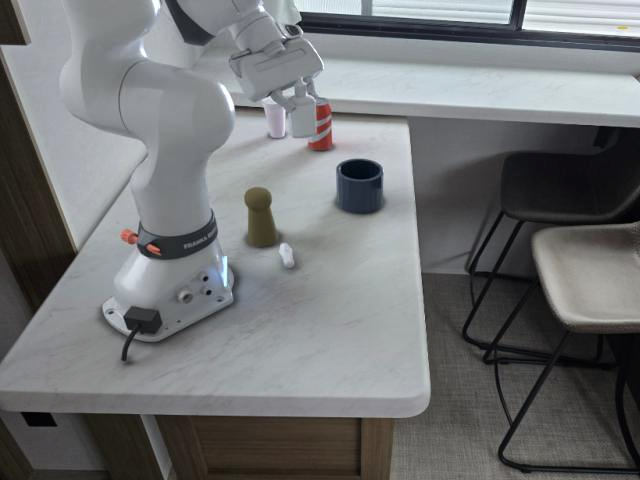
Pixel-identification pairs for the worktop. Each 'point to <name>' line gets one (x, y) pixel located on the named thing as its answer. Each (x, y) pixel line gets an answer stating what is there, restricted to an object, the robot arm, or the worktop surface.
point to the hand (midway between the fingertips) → (304, 105)
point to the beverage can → (322, 126)
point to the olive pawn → (260, 217)
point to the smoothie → (274, 117)
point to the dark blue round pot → (359, 185)
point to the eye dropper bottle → (302, 112)
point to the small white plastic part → (286, 255)
